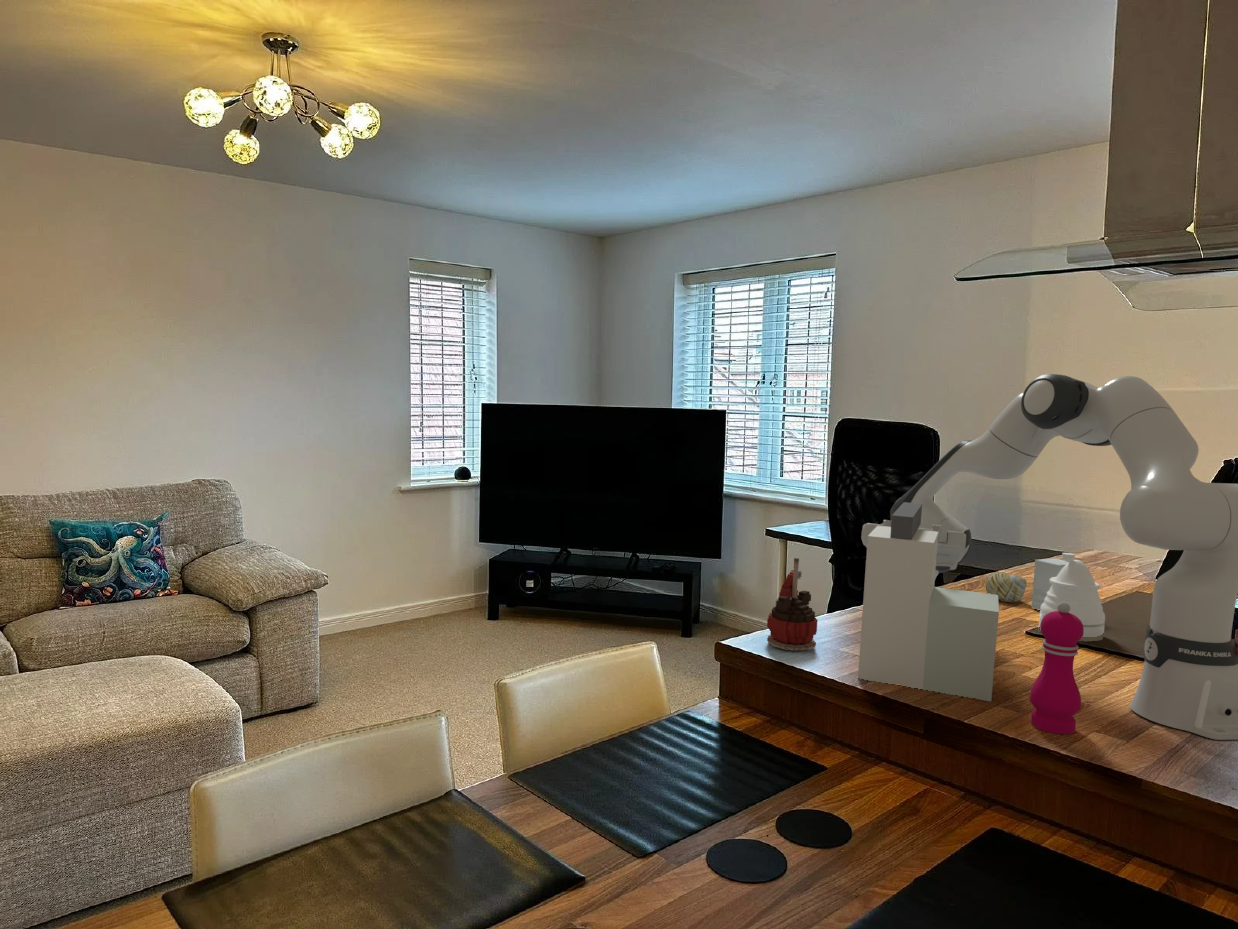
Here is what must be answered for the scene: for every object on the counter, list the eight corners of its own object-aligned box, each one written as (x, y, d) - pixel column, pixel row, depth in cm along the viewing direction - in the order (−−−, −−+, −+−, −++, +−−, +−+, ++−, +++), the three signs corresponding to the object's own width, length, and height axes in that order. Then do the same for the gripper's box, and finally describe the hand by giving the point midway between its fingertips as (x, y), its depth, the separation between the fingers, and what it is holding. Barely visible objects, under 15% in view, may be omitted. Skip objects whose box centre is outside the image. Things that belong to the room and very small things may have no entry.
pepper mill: (1085, 738, 129) (1097, 610, 127) (1034, 733, 131) (1045, 605, 129) (1070, 721, 136) (1081, 599, 134) (1022, 715, 138) (1032, 594, 136)
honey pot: (1055, 640, 183) (1062, 558, 182) (1028, 624, 196) (1035, 547, 194) (1115, 643, 183) (1123, 561, 181) (1084, 627, 196) (1091, 550, 194)
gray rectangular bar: (902, 522, 169) (903, 502, 169) (920, 523, 168) (922, 503, 167) (890, 537, 149) (891, 515, 148) (911, 540, 147) (912, 517, 147)
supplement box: (1077, 614, 207) (1082, 563, 206) (1054, 616, 204) (1059, 565, 203) (1051, 607, 214) (1056, 557, 213) (1029, 608, 211) (1034, 558, 210)
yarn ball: (988, 589, 228) (1009, 559, 224) (1019, 612, 222) (1040, 582, 218) (970, 592, 221) (991, 561, 217) (1001, 616, 215) (1024, 585, 211)
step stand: (868, 657, 165) (877, 525, 163) (991, 677, 156) (1002, 538, 154) (857, 678, 152) (867, 535, 150) (991, 701, 143) (1004, 550, 141)
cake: (796, 657, 163) (802, 565, 162) (756, 646, 170) (761, 557, 168) (825, 647, 171) (831, 559, 169) (785, 636, 177) (791, 551, 176)
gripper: (865, 532, 185) (859, 506, 173) (966, 542, 177) (967, 516, 165) (861, 559, 183) (855, 535, 171) (964, 570, 174) (965, 546, 163)
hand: (911, 525), depth 168 cm, fingers open, 8 cm apart
